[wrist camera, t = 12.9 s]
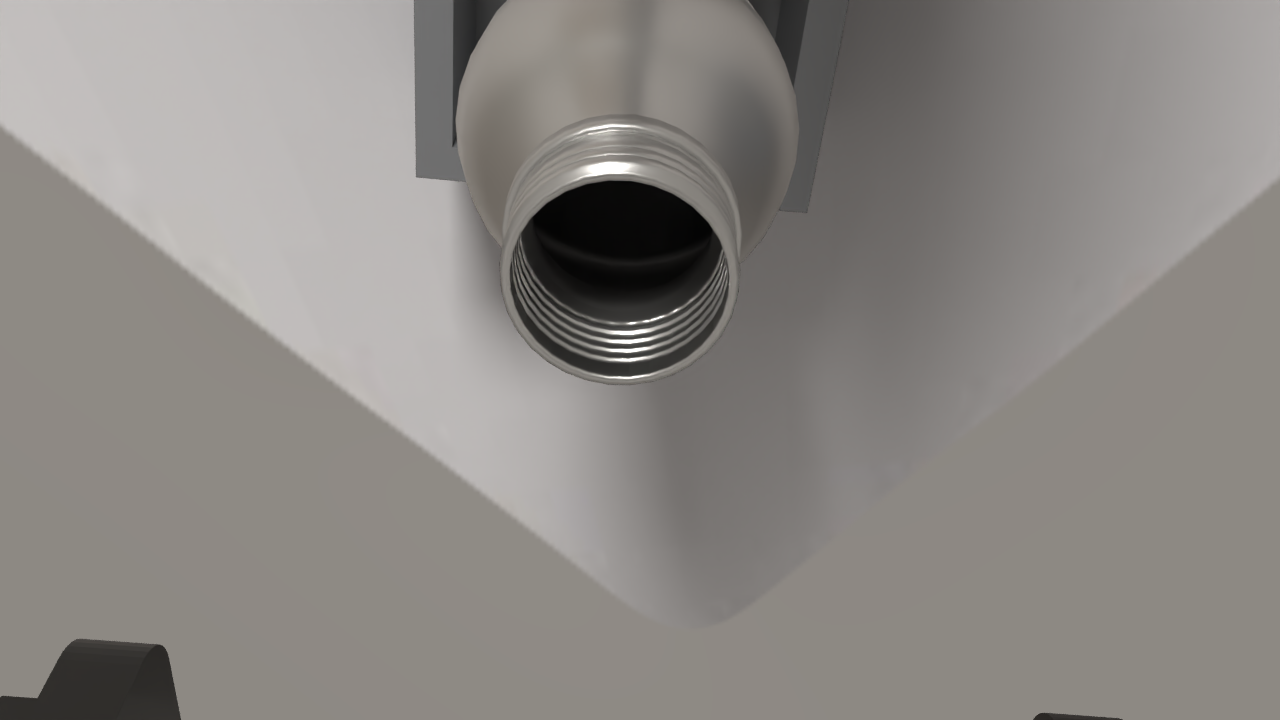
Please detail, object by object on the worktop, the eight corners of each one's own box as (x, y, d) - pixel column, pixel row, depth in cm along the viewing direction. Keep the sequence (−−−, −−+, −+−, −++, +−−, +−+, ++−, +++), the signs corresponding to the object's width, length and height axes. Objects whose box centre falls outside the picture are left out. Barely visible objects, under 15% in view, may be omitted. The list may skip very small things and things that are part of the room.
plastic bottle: (747, -214, 32) (843, 43, 15) (753, 32, 36) (836, 450, 19) (509, -194, 32) (355, 78, 16) (540, 48, 36) (442, 471, 20)
